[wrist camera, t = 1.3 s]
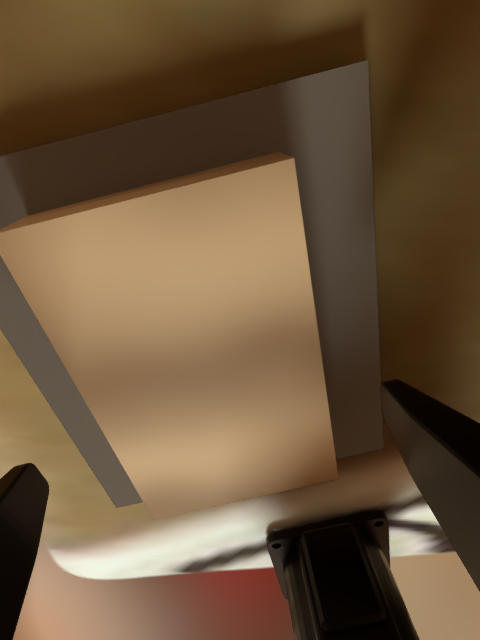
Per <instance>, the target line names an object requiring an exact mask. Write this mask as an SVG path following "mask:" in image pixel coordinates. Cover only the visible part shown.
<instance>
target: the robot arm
mask: <svg viewBox="0 0 480 640" xmlns="http://www.w3.org/2000/svg"><path fill="white" fill-rule="evenodd" d="M380 398H381V410H382V414H383V416H384V419H385V421H386V423H387V425H388V427H389V430H390V432H391V434H392V436H393V438H394V441H395V443H396V445H397V447H398V449H399V452H400V454H401V456H402V458H403V460H404V463H405V465H406V467H407V469H408V471H409V473H410V475H411V476H412V478H413V480H414V482H415V484H416V485H417V487H418V489H419V490H420V492H421V494H422V495H423V497H424V499H425V500H426V502H427V504H428V505H429V507H430V509H431V510H432V512H433V514H434V515H435V517H436V519H437V521H438V522H439V524H440V526H441V527H442V529H443V531H444V532H445V534H446V536H447V537H448V539H449V541H450V542H451V544H452V546H453V547H454V549H455V551H456V552H457V554H458V556H459V557H460V559H461V561H462V563H463V564H464V566H465V567H466V569H467V571H468V573H469V574H470V576H471V578H472V579H473V581H474V583H475V584H476V586H477V588H478V589H479V591H480V423H478V422H476V421H474V420H473V419H471V418H469V417H467V416H465V415H463V414H461V413H460V412H458V411H456V410H454V409H452V408H450V407H449V406H447V405H445V404H443V403H441V402H439V401H438V400H436V399H434V398H432V397H430V396H428V395H426V394H425V393H423V392H421V391H419V390H417V389H415V388H414V387H412V386H410V385H408V384H406V383H404V382H402V381H401V380H398V379H394V380H389V381H385V382H382V383H381V385H380ZM48 495H49V485H48V482H47V481H46V479H45V478H44V477H43V475H42V474H41V473H40V471H39V470H38V469H37V467H36V466H35V465H34V464H32V463H26V464H22V465H18V466H15V467H13V468H12V469H11V470H10V471H9V472H8V473H6V474H5V475H4V476H3V477H2V478H1V479H0V640H13V637H14V633H15V630H16V626H17V623H18V619H19V616H20V612H21V608H22V605H23V602H24V598H25V595H26V591H27V588H28V584H29V581H30V577H31V574H32V571H33V567H34V564H35V560H36V556H37V552H38V547H39V543H40V537H41V532H42V527H43V521H44V516H45V511H46V505H47V500H48ZM266 541H267V548H268V551H269V554H270V557H271V560H272V563H273V566H274V569H275V572H276V575H277V578H278V580H279V584H280V587H281V589H282V592H283V595H284V598H285V599H288V604H289V609H290V615H291V621H292V627H293V633H294V639H295V640H419V637H418V635H417V632H416V630H415V628H414V625H413V623H412V620H411V618H410V615H409V613H408V611H407V608H406V606H405V603H404V601H403V598H402V596H401V594H400V591H399V589H398V586H397V584H396V582H395V579H394V577H393V574H392V572H391V570H390V554H389V526H388V520H387V518H386V516H385V513H384V512H382V511H374V512H370V513H365V514H360V515H356V516H351V517H346V518H342V519H337V520H332V521H328V522H323V523H319V524H314V525H309V526H305V527H300V528H295V529H291V530H286V531H282V532H277V533H273V534H270V535H269V536H268V537H267V538H266Z"/></svg>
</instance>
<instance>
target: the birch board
mask: <svg viewBox="0 0 480 640" xmlns="http://www.w3.org/2000/svg"><path fill="white" fill-rule="evenodd" d="M0 256H1V257H2V259H3V261H4V262H5V264H6V266H7V268H8V269H9V271H10V273H11V275H12V276H13V278H14V280H15V281H16V283H17V285H18V287H19V288H20V290H21V292H22V294H23V295H24V297H25V299H26V300H27V302H28V304H29V306H30V307H31V309H32V311H33V312H34V314H35V316H36V318H37V319H38V321H39V323H40V325H41V326H42V328H43V330H44V331H45V333H46V335H47V337H48V338H49V340H50V342H51V344H52V345H53V347H54V349H55V350H56V352H57V354H58V356H59V357H60V359H61V361H62V363H63V364H64V366H65V368H66V369H67V371H68V373H69V375H70V376H71V378H72V380H73V382H74V383H75V385H76V387H77V388H78V390H79V392H80V394H81V395H82V397H83V399H84V401H85V402H86V404H87V406H88V407H89V409H90V411H91V413H92V414H93V416H94V418H95V420H96V421H97V423H98V425H99V426H100V428H101V430H102V432H103V433H104V435H105V437H106V439H107V440H108V442H109V444H110V445H111V447H112V449H113V451H114V452H115V454H116V456H117V458H118V459H119V461H120V463H121V464H122V466H123V468H124V470H125V471H126V473H127V475H128V476H129V478H130V480H131V482H132V483H133V485H134V487H135V489H136V490H137V492H138V494H139V495H140V497H141V499H142V501H143V502H144V504H145V506H146V508H147V509H148V511H149V513H150V514H151V516H152V518H153V520H155V519H160V518H164V517H169V516H173V515H178V514H182V513H187V512H192V511H196V510H201V509H205V508H210V507H214V506H219V505H223V504H228V503H232V502H237V501H242V500H246V499H251V498H255V497H260V496H264V495H269V494H273V493H278V492H282V491H287V490H292V489H296V488H301V487H305V486H310V485H314V484H319V483H323V482H328V481H333V480H337V479H338V471H337V464H336V457H335V450H334V442H333V435H332V428H331V421H330V414H329V406H328V399H327V392H326V385H325V377H324V370H323V363H322V356H321V348H320V341H319V334H318V327H317V320H316V312H315V305H314V298H313V291H312V283H311V276H310V269H309V262H308V254H307V247H306V240H305V233H304V225H303V218H302V211H301V204H300V197H299V189H298V182H297V175H296V168H295V160H294V158H293V157H290V156H288V155H285V154H283V153H280V152H275V153H271V154H267V155H263V156H259V157H255V158H251V159H247V160H244V161H240V162H236V163H232V164H228V165H224V166H220V167H216V168H212V169H208V170H204V171H200V172H196V173H192V174H189V175H185V176H181V177H177V178H173V179H169V180H165V181H161V182H157V183H153V184H149V185H145V186H141V187H137V188H134V189H130V190H126V191H122V192H118V193H114V194H110V195H106V196H102V197H98V198H94V199H90V200H86V201H82V202H79V203H75V204H71V205H67V206H63V207H59V208H55V209H51V210H47V211H43V212H39V213H35V214H31V215H28V216H26V217H24V218H22V219H20V220H18V221H16V222H14V223H12V224H10V225H8V226H6V227H4V228H2V229H0Z"/></svg>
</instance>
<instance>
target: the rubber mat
mask: <svg viewBox="0 0 480 640" xmlns="http://www.w3.org/2000/svg"><path fill="white" fill-rule="evenodd" d="M275 152H280V153H283V154H285V155H288V156H290V157H293V158H294V160H295V168H296V175H297V182H298V189H299V197H300V204H301V211H302V218H303V225H304V233H305V240H306V247H307V254H308V262H309V269H310V276H311V283H312V291H313V298H314V305H315V312H316V320H317V327H318V334H319V341H320V348H321V356H322V363H323V370H324V377H325V385H326V392H327V399H328V406H329V414H330V421H331V428H332V435H333V442H334V450H335V457H336V459H339V458H344V457H348V456H353V455H357V454H362V453H366V452H371V451H375V450H380V449H384V444H383V419H382V410H381V398H380V385H381V369H380V344H379V319H378V294H377V269H376V244H375V220H374V195H373V170H372V145H371V120H370V95H369V70H368V60H366V61H362V62H358V63H354V64H351V65H347V66H343V67H339V68H335V69H331V70H328V71H324V72H320V73H316V74H312V75H309V76H305V77H301V78H297V79H293V80H289V81H286V82H282V83H278V84H274V85H270V86H266V87H263V88H259V89H255V90H251V91H247V92H244V93H240V94H236V95H232V96H228V97H224V98H221V99H217V100H213V101H209V102H205V103H201V104H198V105H194V106H190V107H186V108H182V109H179V110H175V111H171V112H167V113H163V114H159V115H156V116H152V117H148V118H144V119H140V120H136V121H133V122H129V123H125V124H121V125H117V126H114V127H110V128H106V129H102V130H98V131H94V132H91V133H87V134H83V135H79V136H75V137H71V138H68V139H64V140H60V141H56V142H52V143H49V144H45V145H41V146H37V147H33V148H29V149H26V150H22V151H18V152H14V153H10V154H6V155H3V156H0V229H2V228H4V227H6V226H8V225H10V224H12V223H14V222H16V221H18V220H20V219H22V218H24V217H26V216H28V215H31V214H35V213H39V212H43V211H47V210H51V209H55V208H59V207H63V206H67V205H71V204H75V203H79V202H82V201H86V200H90V199H94V198H98V197H102V196H106V195H110V194H114V193H118V192H122V191H126V190H130V189H134V188H137V187H141V186H145V185H149V184H153V183H157V182H161V181H165V180H169V179H173V178H177V177H181V176H185V175H189V174H192V173H196V172H200V171H204V170H208V169H212V168H216V167H220V166H224V165H228V164H232V163H236V162H240V161H244V160H247V159H251V158H255V157H259V156H263V155H267V154H271V153H275ZM0 329H1V331H2V332H3V334H4V335H5V337H6V338H7V340H8V341H9V343H10V345H11V346H12V348H13V349H14V351H15V352H16V354H17V355H18V357H19V358H20V360H21V362H22V363H23V365H24V366H25V368H26V369H27V371H28V372H29V374H30V375H31V377H32V378H33V380H34V382H35V383H36V385H37V386H38V388H39V389H40V391H41V392H42V394H43V395H44V397H45V399H46V400H47V402H48V403H49V405H50V406H51V408H52V409H53V411H54V412H55V414H56V416H57V417H58V419H59V420H60V422H61V423H62V425H63V426H64V428H65V429H66V431H67V433H68V434H69V436H70V437H71V439H72V440H73V442H74V443H75V445H76V446H77V448H78V450H79V451H80V453H81V454H82V456H83V457H84V459H85V460H86V462H87V463H88V465H89V466H90V468H91V470H92V471H93V473H94V474H95V476H96V477H97V479H98V480H99V482H100V483H101V485H102V487H103V488H104V490H105V491H106V493H107V494H108V496H109V497H110V499H111V500H112V502H113V504H114V505H115V507H116V508H118V507H123V506H127V505H132V504H136V503H141V502H143V501H142V499H141V497H140V495H139V494H138V492H137V490H136V489H135V487H134V485H133V483H132V482H131V480H130V478H129V476H128V475H127V473H126V471H125V470H124V468H123V466H122V464H121V463H120V461H119V459H118V458H117V456H116V454H115V452H114V451H113V449H112V447H111V445H110V444H109V442H108V440H107V439H106V437H105V435H104V433H103V432H102V430H101V428H100V426H99V425H98V423H97V421H96V420H95V418H94V416H93V414H92V413H91V411H90V409H89V407H88V406H87V404H86V402H85V401H84V399H83V397H82V395H81V394H80V392H79V390H78V388H77V387H76V385H75V383H74V382H73V380H72V378H71V376H70V375H69V373H68V371H67V369H66V368H65V366H64V364H63V363H62V361H61V359H60V357H59V356H58V354H57V352H56V350H55V349H54V347H53V345H52V344H51V342H50V340H49V338H48V337H47V335H46V333H45V331H44V330H43V328H42V326H41V325H40V323H39V321H38V319H37V318H36V316H35V314H34V312H33V311H32V309H31V307H30V306H29V304H28V302H27V300H26V299H25V297H24V295H23V294H22V292H21V290H20V288H19V287H18V285H17V283H16V281H15V280H14V278H13V276H12V275H11V273H10V271H9V269H8V268H7V266H6V264H5V262H4V261H3V259H2V257H1V256H0Z"/></svg>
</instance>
